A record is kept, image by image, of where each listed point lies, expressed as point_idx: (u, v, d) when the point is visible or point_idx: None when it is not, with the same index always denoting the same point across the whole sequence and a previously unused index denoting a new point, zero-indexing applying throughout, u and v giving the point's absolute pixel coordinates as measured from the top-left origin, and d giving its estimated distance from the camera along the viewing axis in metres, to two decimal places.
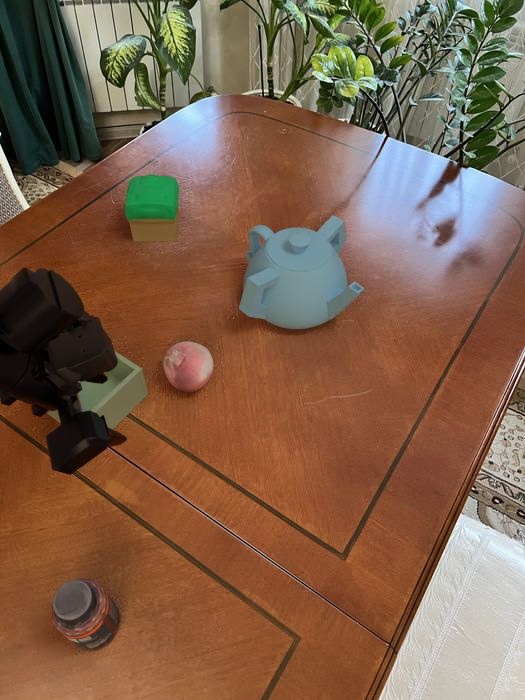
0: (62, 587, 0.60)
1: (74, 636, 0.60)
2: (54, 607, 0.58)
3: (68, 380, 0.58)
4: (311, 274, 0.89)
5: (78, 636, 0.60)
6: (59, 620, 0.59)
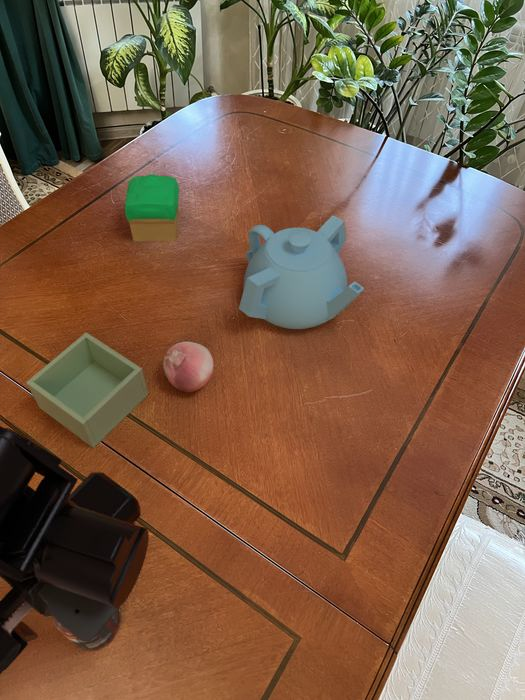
0: None
1: (74, 636, 0.60)
2: None
3: (38, 606, 0.46)
4: (311, 274, 0.89)
5: None
6: None
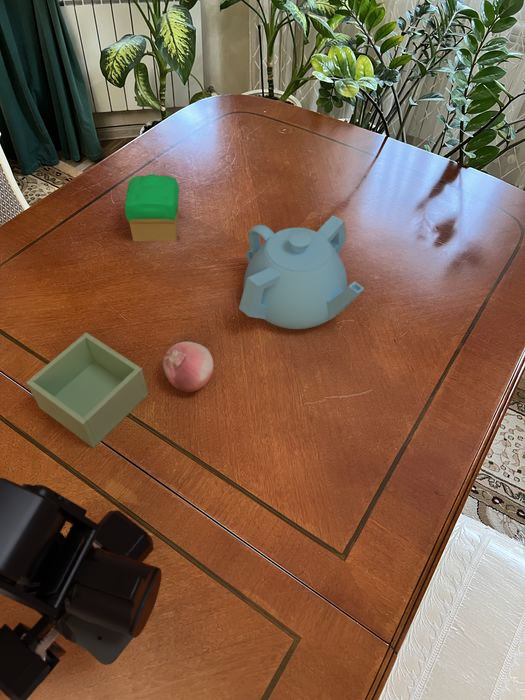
0: None
1: None
2: None
3: (65, 633, 0.53)
4: (311, 274, 0.89)
5: None
6: None
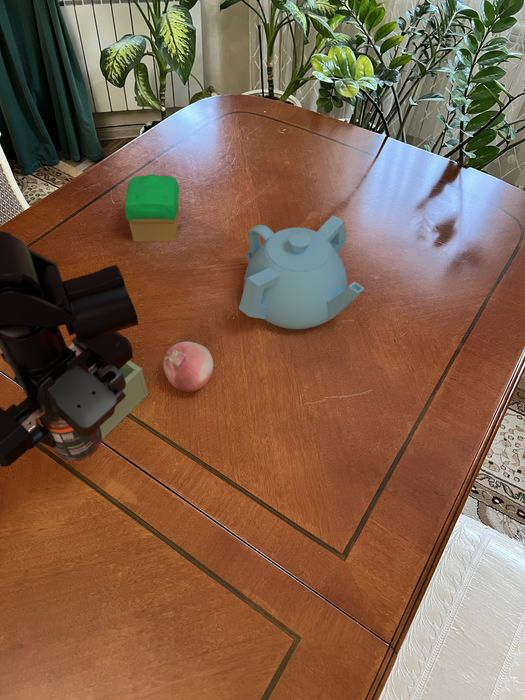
0: None
1: (58, 429, 0.64)
2: None
3: (47, 403, 0.58)
4: (311, 274, 0.89)
5: (61, 429, 0.64)
6: (44, 413, 0.64)
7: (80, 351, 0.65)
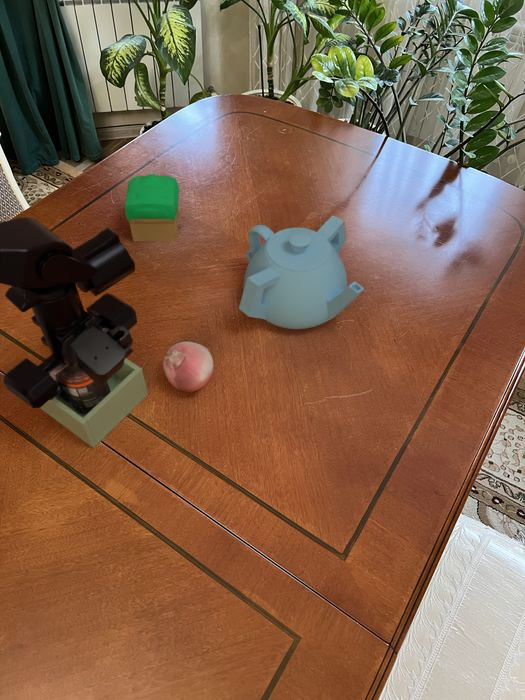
0: None
1: (74, 384, 0.78)
2: None
3: (70, 357, 0.71)
4: (311, 274, 0.89)
5: (77, 384, 0.78)
6: (63, 371, 0.78)
7: (93, 318, 0.79)
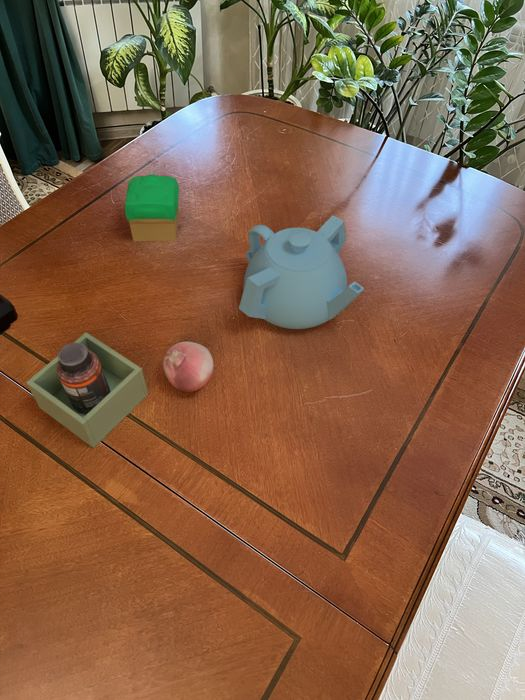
0: (65, 346, 0.78)
1: (74, 384, 0.78)
2: (59, 358, 0.77)
3: None
4: (311, 274, 0.89)
5: (77, 384, 0.78)
6: (63, 371, 0.78)
7: None
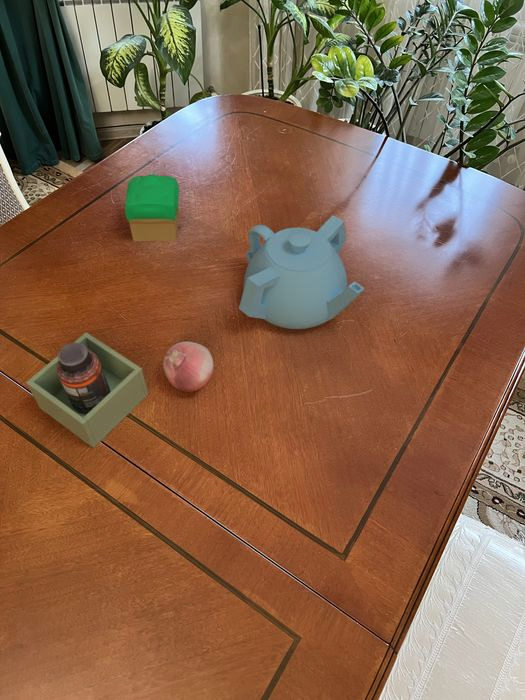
0: (65, 346, 0.78)
1: (74, 384, 0.78)
2: (59, 358, 0.77)
3: None
4: (311, 274, 0.89)
5: (77, 384, 0.78)
6: (63, 371, 0.78)
7: None
